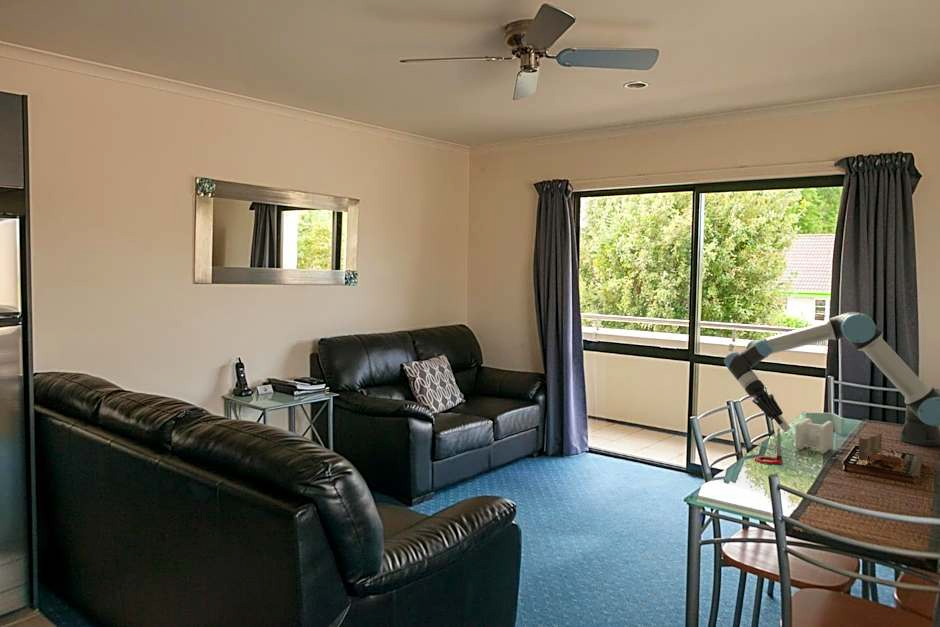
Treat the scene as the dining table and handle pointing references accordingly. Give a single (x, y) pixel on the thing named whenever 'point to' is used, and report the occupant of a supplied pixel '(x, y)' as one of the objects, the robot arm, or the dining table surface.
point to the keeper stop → (869, 445)
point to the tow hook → (778, 457)
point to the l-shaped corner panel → (824, 417)
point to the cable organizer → (814, 435)
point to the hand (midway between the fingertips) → (787, 430)
